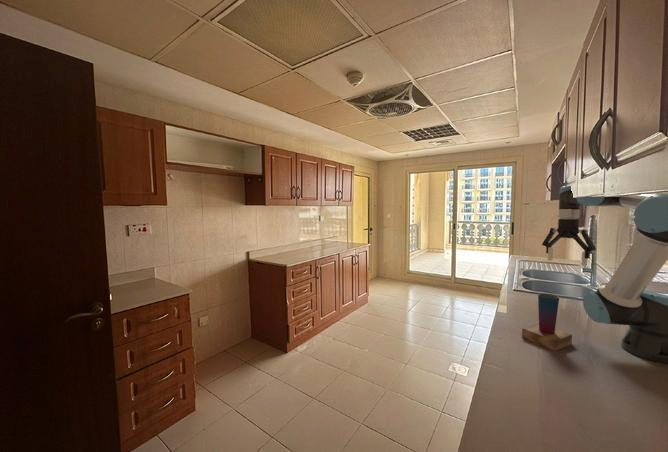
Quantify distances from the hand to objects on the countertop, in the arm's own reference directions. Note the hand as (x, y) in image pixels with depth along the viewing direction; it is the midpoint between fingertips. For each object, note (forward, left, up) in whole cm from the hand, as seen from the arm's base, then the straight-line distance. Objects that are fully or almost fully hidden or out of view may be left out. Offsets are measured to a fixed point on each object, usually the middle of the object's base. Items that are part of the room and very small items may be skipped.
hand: (566, 262), depth 129 cm
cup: (-8, +30, -25) cm, 40 cm away
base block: (-8, +30, -29) cm, 42 cm away
